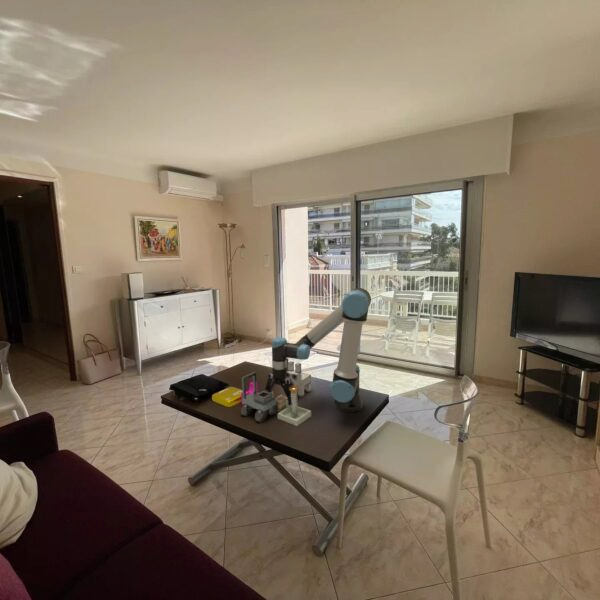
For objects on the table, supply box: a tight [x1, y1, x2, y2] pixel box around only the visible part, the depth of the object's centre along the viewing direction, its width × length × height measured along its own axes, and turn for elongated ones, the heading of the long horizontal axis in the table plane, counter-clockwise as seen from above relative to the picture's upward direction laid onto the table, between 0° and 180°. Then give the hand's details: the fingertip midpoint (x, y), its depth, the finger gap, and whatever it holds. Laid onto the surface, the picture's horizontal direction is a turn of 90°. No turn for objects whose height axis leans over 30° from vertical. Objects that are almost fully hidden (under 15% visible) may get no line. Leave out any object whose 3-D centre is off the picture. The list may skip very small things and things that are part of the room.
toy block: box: [240, 381, 259, 406], centre depth 179 cm, size 15×6×8 cm, turn 168°
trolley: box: [240, 371, 278, 423], centre depth 161 cm, size 15×14×20 cm
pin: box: [289, 386, 299, 418], centre depth 158 cm, size 5×5×15 cm
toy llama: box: [286, 361, 312, 398], centre depth 186 cm, size 8×18×20 cm, turn 146°
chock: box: [275, 394, 287, 413], centre depth 168 cm, size 5×7×6 cm
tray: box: [276, 405, 312, 427], centre depth 159 cm, size 12×12×3 cm
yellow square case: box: [211, 386, 242, 408], centre depth 180 cm, size 15×15×5 cm
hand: (279, 406), depth 169 cm, fingers open, 11 cm apart
